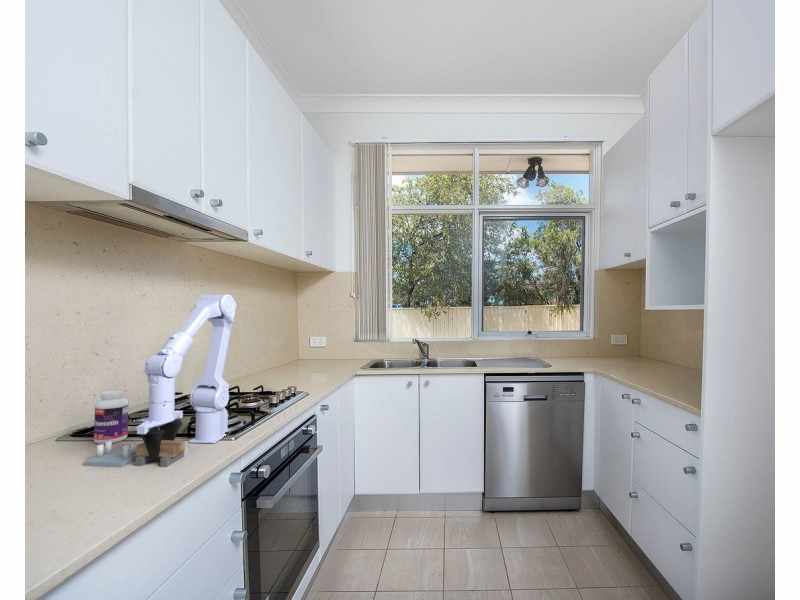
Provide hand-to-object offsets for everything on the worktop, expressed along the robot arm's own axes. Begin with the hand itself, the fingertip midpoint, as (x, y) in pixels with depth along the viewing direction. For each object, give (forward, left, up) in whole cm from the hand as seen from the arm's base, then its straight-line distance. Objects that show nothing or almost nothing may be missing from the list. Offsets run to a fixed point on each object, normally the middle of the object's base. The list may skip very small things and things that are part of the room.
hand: (160, 453), depth 100 cm
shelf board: (0, 0, 0) cm, 0 cm away
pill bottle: (-13, -25, -2) cm, 28 cm away
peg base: (0, -12, -2) cm, 12 cm away
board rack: (0, 0, -2) cm, 2 cm away
